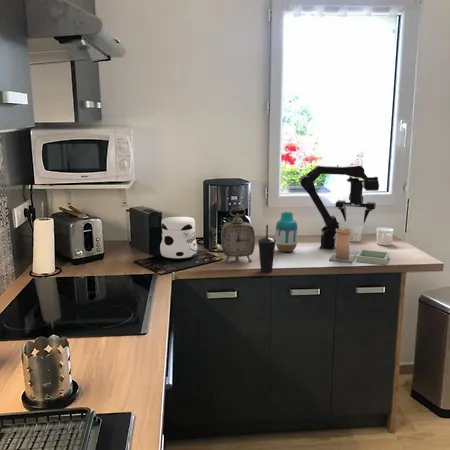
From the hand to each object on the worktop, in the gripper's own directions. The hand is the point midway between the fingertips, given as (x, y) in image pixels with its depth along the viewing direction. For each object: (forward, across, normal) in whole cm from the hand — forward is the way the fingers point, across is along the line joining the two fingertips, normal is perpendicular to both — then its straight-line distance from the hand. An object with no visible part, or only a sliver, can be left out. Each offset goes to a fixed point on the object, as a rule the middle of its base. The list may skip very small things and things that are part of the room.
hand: (354, 222), depth 251 cm
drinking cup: (+13, +27, +55) cm, 63 cm away
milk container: (+13, +72, +51) cm, 89 cm away
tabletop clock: (+13, +44, +46) cm, 65 cm away
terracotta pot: (+12, +1, +24) cm, 27 cm away
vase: (+13, +29, +20) cm, 38 cm away
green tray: (+13, -12, +19) cm, 26 cm away
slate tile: (+13, +1, +24) cm, 27 cm away
